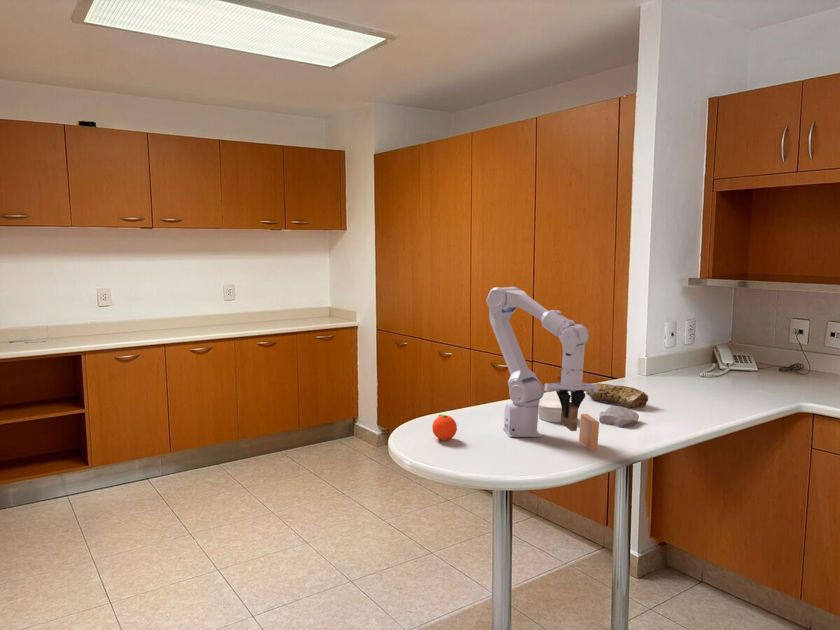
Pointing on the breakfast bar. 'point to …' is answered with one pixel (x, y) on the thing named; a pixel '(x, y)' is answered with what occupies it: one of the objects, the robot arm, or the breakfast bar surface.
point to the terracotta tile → (589, 432)
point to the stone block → (618, 416)
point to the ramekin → (550, 410)
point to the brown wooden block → (570, 418)
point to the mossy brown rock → (620, 395)
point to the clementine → (444, 427)
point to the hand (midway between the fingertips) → (569, 416)
